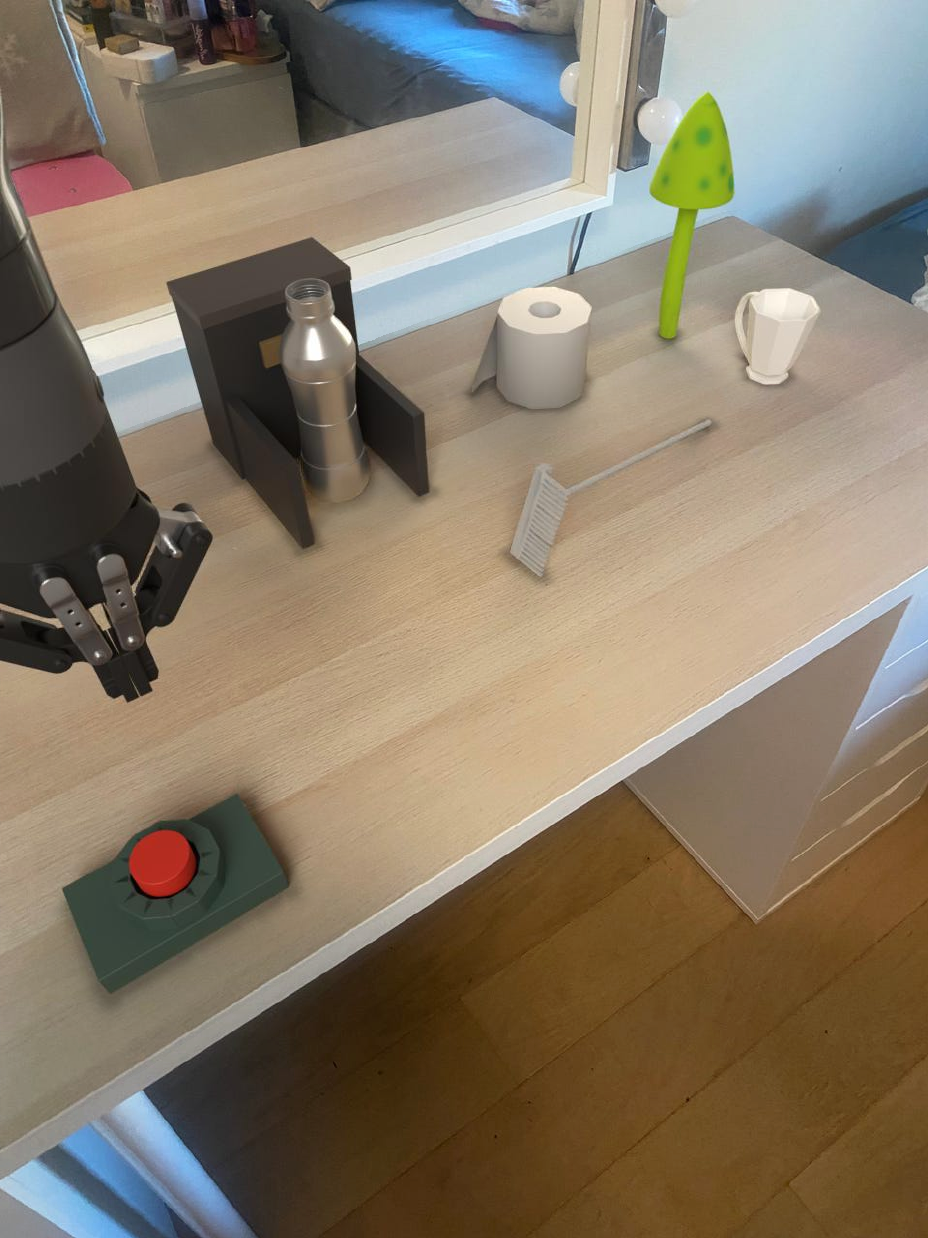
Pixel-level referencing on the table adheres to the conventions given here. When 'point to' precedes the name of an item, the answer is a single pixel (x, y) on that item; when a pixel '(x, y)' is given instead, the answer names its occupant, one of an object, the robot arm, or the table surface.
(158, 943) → the control pad
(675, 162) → the mushroom
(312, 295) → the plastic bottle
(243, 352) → the dark box with flaps
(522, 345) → the toilet tissue
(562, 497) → the brush
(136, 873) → the stop button
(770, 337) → the cup
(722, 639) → the table surface
